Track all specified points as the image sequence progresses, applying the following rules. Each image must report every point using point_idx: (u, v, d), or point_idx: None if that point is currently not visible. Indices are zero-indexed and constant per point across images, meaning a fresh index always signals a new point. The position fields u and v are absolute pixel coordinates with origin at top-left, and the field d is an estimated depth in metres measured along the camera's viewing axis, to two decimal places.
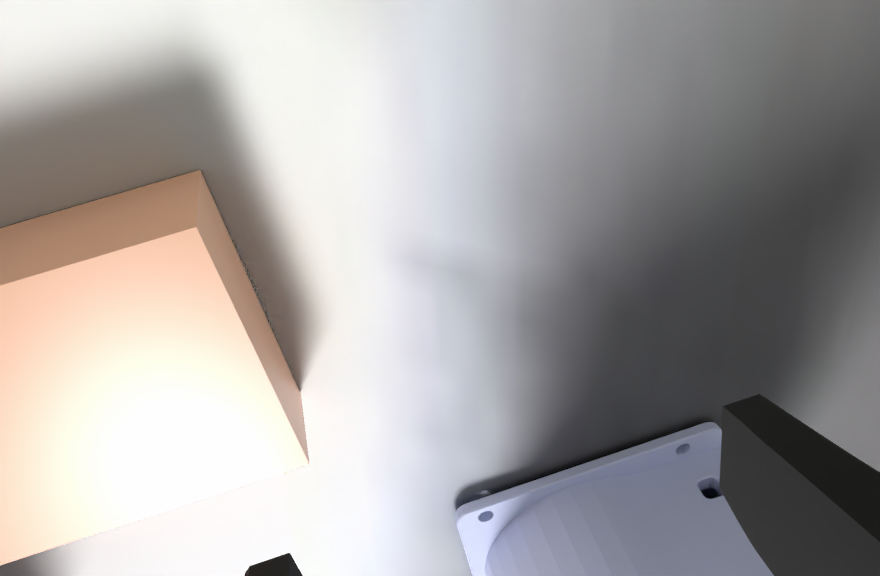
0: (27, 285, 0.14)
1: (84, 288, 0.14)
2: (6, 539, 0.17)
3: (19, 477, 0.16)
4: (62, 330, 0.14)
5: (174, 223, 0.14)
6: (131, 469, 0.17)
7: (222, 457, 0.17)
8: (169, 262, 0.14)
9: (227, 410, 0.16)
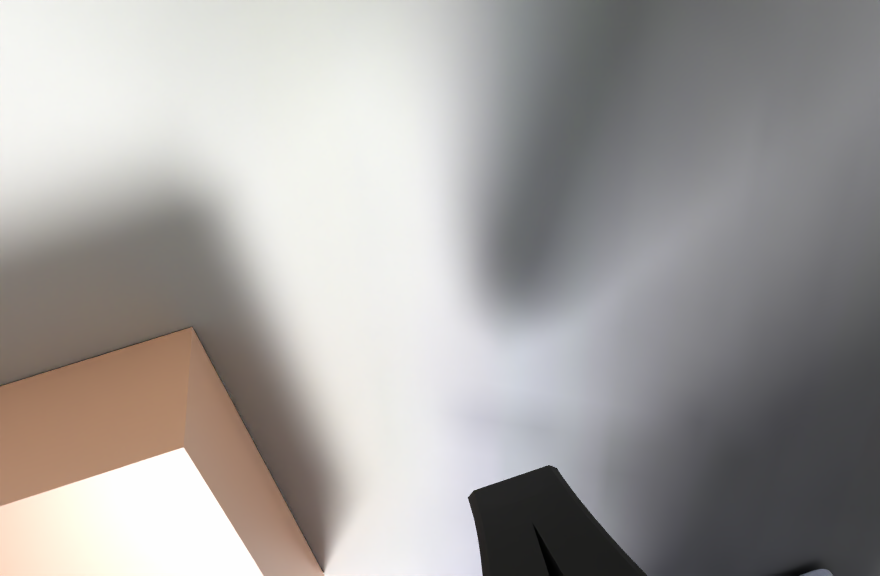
0: None
1: (19, 534, 0.09)
2: None
3: None
4: None
5: (152, 433, 0.10)
6: None
7: None
8: (145, 493, 0.09)
9: None
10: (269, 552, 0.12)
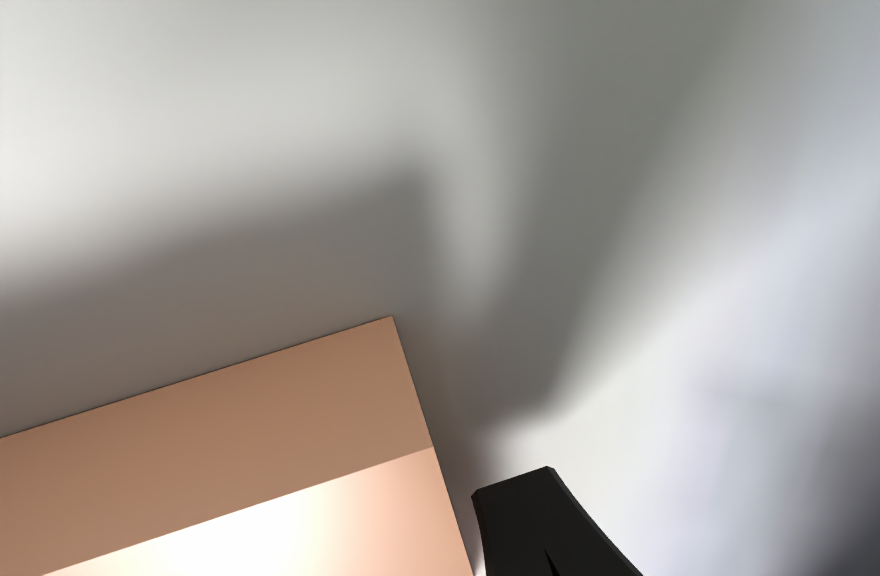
0: (157, 547, 0.08)
1: (246, 542, 0.08)
2: None
3: None
4: None
5: (386, 430, 0.09)
6: None
7: None
8: (383, 497, 0.09)
9: None
10: None
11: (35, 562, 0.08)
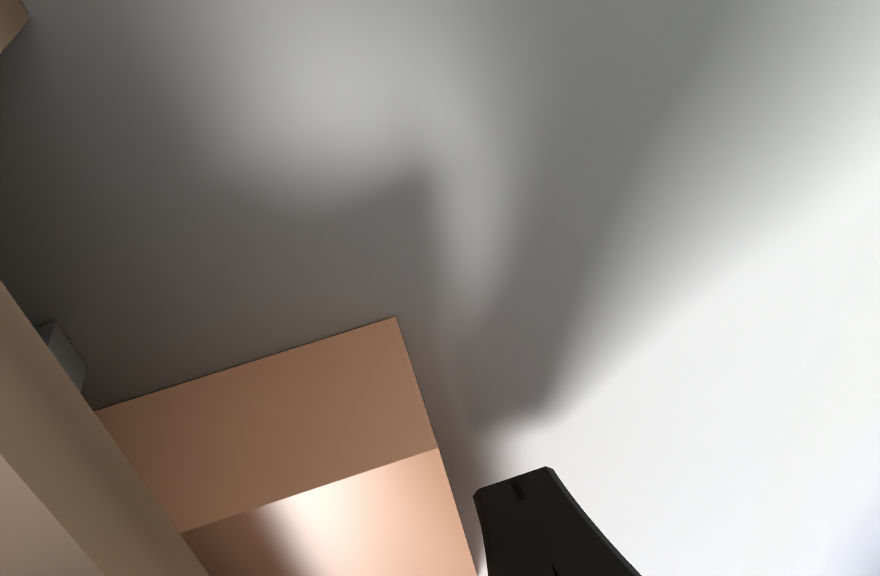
0: None
1: (251, 544, 0.08)
2: None
3: None
4: None
5: (391, 431, 0.09)
6: None
7: None
8: (388, 498, 0.09)
9: None
10: None
11: None
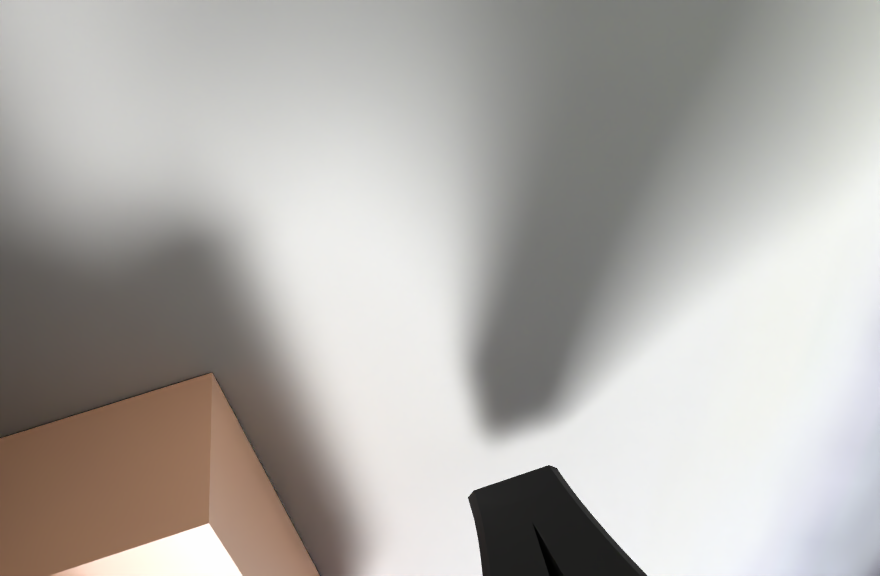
0: None
1: None
2: None
3: None
4: None
5: (170, 502, 0.08)
6: None
7: None
8: (163, 572, 0.08)
9: None
10: None
11: None
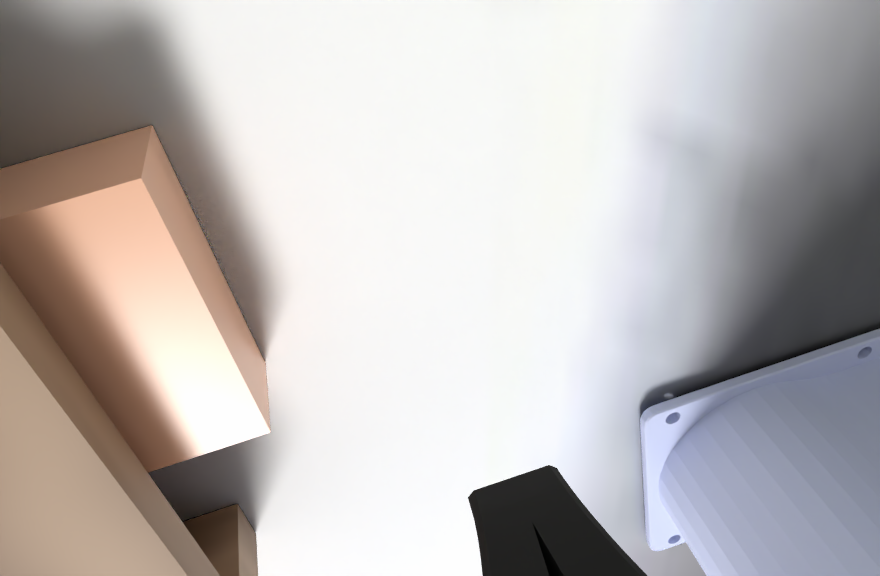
0: None
1: (25, 242, 0.13)
2: None
3: None
4: None
5: (119, 174, 0.14)
6: None
7: (179, 424, 0.17)
8: (115, 216, 0.13)
9: (182, 374, 0.16)
10: (211, 297, 0.16)
11: None
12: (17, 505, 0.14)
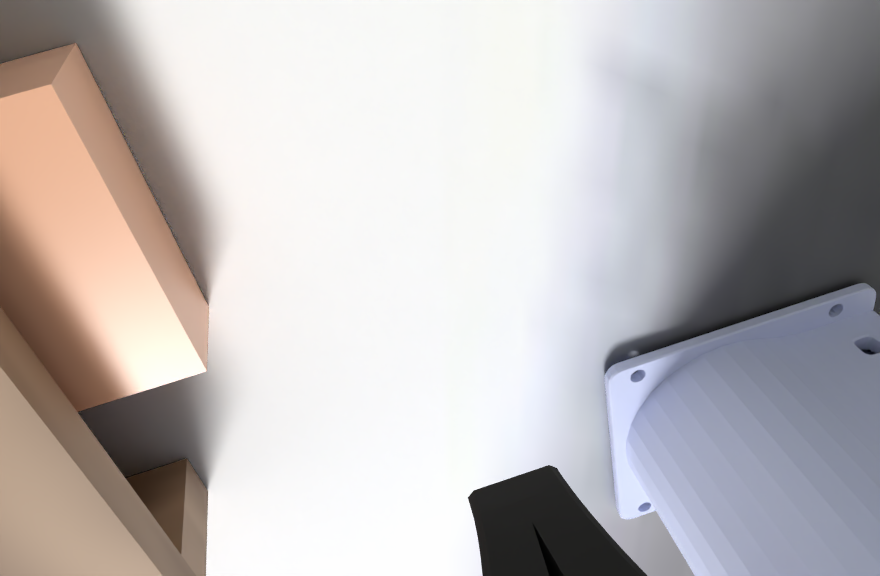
0: None
1: None
2: None
3: None
4: None
5: (31, 83, 0.13)
6: None
7: (109, 359, 0.16)
8: (26, 125, 0.13)
9: (108, 304, 0.15)
10: (138, 224, 0.15)
11: None
12: None
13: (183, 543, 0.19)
